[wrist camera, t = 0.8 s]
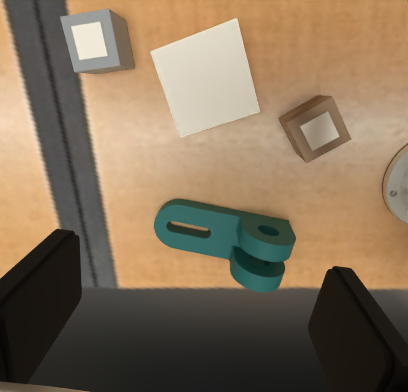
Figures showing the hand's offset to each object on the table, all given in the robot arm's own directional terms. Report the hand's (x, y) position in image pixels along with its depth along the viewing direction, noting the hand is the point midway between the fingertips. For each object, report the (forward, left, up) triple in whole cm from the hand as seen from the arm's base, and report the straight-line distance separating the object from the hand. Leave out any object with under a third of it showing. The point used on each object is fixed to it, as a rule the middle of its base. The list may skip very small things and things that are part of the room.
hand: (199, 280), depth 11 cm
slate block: (+9, -14, -27) cm, 32 cm away
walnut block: (-11, +1, -27) cm, 29 cm away
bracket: (+3, +12, -28) cm, 30 cm away
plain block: (-1, -7, -27) cm, 28 cm away
